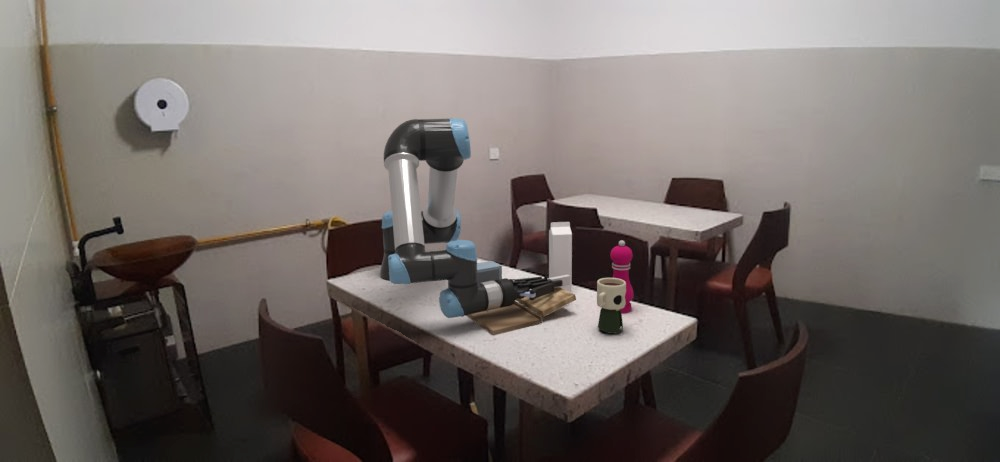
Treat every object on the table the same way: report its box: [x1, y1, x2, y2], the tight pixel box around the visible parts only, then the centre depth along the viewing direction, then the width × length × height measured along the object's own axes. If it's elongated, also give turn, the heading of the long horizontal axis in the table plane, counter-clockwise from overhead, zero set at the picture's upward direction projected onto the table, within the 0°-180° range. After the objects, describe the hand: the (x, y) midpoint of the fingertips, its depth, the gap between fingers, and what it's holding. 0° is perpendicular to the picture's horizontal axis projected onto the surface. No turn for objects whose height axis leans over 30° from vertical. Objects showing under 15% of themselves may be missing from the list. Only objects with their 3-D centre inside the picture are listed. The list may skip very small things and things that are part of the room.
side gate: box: [515, 287, 577, 317], centre depth 146 cm, size 16×2×11 cm
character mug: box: [596, 277, 626, 334], centre depth 129 cm, size 11×7×13 cm, turn 138°
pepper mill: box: [609, 239, 634, 314], centre depth 143 cm, size 7×7×20 cm
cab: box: [477, 260, 503, 284], centre depth 150 cm, size 8×19×12 cm, turn 119°
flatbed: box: [466, 300, 543, 336], centre depth 140 cm, size 18×15×2 cm
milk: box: [548, 221, 573, 293], centre depth 159 cm, size 6×6×22 cm
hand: (568, 279), depth 148 cm, fingers closed
